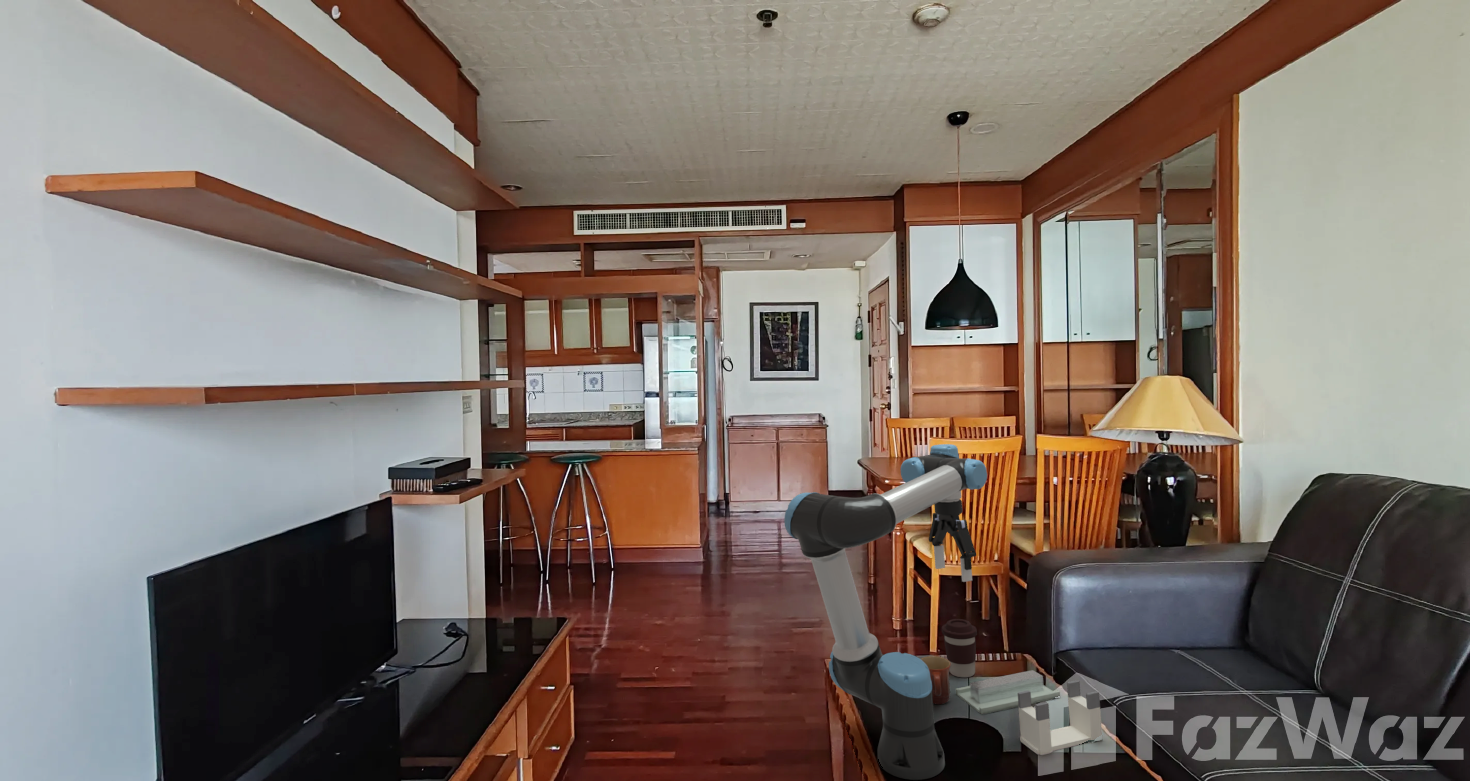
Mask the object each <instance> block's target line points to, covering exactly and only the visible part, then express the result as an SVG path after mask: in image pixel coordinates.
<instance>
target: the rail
mask: <svg viewBox="0 0 1470 781" xmlns="http://www.w3.org/2000/svg"><path fill="white" fill-rule="evenodd" d="M1043 677H1044V676H1043V675H1042V674H1040V673H1038V672H1036V671H1035V670H1027V671H1022V672H1017V673H1012V674H1008V675H1002V676H997V677H993V678H988V679H983V680H976V681H973V682H969V686H970V693H971V698H972V699H974V700H975V701H976V702H978V703H979V704H982V703H987V702H992V701H996V700H1001V699H1006V698H1010V697H1015V696H1018V692H1023V691H1030V692H1031V693H1034V692H1039V691H1043V690H1044V688H1043V685H1044V678H1043Z"/></svg>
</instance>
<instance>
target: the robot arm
mask: <svg viewBox="0 0 1470 781" xmlns="http://www.w3.org/2000/svg"><path fill="white" fill-rule="evenodd" d="M900 476H901V478H902V480H903V482H904V483H903V484H901V485H898V486H897V487H894V488H892V489H890V490H887V491H885V492H883V493H881V494H880V493H877V492H876V493H871V494H868V495H866V496H862V497H849V496H837V495H832V494H831V495H829V494H822V493H819V492H816V491H815V492H814V491H813V492H802V493H800V494H797V495H796V496H794V497H793V498H792V499H791V500H790V501H789V503H788V504H787V509H786V510H785V513H784V527H785V531H786V532H787V533H788V535H789V536H790V537H791V538H792V539H794V540H798V543H799V546H800V548H801V549H800V550H801V552H802V556H804V557H805V558H807V559H809V560H811V564H812V567H813V571H814V574H815V577H816V580H817V584H818V587H819V590H820V594H821V597H822V601H823V604H824V608H825V610H826V614H827V617H828V622H829V623H830V624H829V625H830V627H831V630H832V634H833V637H834V640H835V642H834V644H833V645H832V651H831V652H830V656H829V658H830V661H828V671H829V675H830V678H831V680H832V681H833V683H834V684H835V685H836V686H837V688H840V689H841V690H843V692H845V693H847V694H848V695H852V696H854V697H856V698H859V699H860V700H863V701H864V702H867V703H869V704H871V705H873V706H876V707H877V708H880V709H881V714H882V716H881V717H882V730H881V733H880V737H879V742H878V746H877V750H876V752H877V760H878V759H879V762H880V764H881V766H882V767H883V768H882V767H881V766H880V767H881V768H882V769H883V770H884V771H885V772H886V773H888V774H890V775H892V776H893V777H896V778H900V779H905V780H913V781H918V780H920V781H922V780H927V779H931V778H933V777H935V776H937V775H939V774H940V773H941V772H942V771H943V770H944V769H945V766H946V761H945V753H944V749H943V747H942V743H941V742H940V739H939V737H938V734H937V732H936V729H935V719H934V717H935V716H934V704H933V699H932V681H931V678H930V672H929V668H928V667H927V665H926V664H925V663H924V662H923V661H922V660H921V658H919V657H917V656H916V655H913V654H910V653H907V652H904V653H901V652H900V651H894V652H893V651H892V652H887V653H885V654H883V653H882V650H881V648H880V644H879V640H878V638H877V637H876V636H875V635H874V634H872V633H870V630H869V629H868V625H867V622H866V618H865V614H864V611H863V607H862V604H861V601H860V597H859V593H858V590H857V587H856V583H855V581H854V580H855V579H854V577H853V576H854V575H853V572H852V569H851V566H850V563H849V560H848V556H847V553H846V549H850V548H855V547H859V546H863V545H866V544H868V543H869V544H870V543H871V542H873V541H876V540H878V539H881V538H882V537H884V536H886V535H888V534H890V533H892V532H893V531H894V530H895V529H896V527H897V525H898V524H899V523H901V522H903V521H906V520H907V519H908V518H911V517H913V516H915V515H917V514H918V513H920V512H922V511H924V510H926V509H929V508H930V507H931V506H934V507H933V508H934V512H932V522H931V526H930V531H929V536H928V541H929V543H931V544H932V546H933V551H934V552H933V553H934V566H935V567H934V568H935V570H939V569H945V568H946V562H945V560H946V559H945V549H944V548H945V546H944V539H945V538H946V535H947V533H948V535H949V534H950V537H953V540H954V542H955V544H956V546H957V548H958V550H959V552H960V557H959V559H960V573H961V582H963V583H965V582H971V581H972V582H973V571H972V568H973V567H972V558H973V557H976V556H977V552H976V549H975V547H974V546H975V545H974V543H973V540H972V537H971V534H970V532H969V531H970V530H969V528H968V527H969V526H968V521H967V520H966V519H962V520H961V519H960V515H961V514H962V513H963V500H961V499H962V491H963V490H966V489H968V490H970V491H971V490H980V489H982V488H983V487H984V486H985V485H986V483H987V479H988V472H987V467H986V465H985V464H984V462H982V461H981V460H979V459H973V458H970V457H969V458H960V456H959V449H958V446H956V445H955V444H949V443H948V444H946V443H945V444H943V443H941V444H934V445H932V446H931V447H930V451H929V454H926V455H919V456H916V457H915V456H913V457H911V458H907V459H905V460H904V461H903V462H902V464H901V465H900ZM879 762H878V763H879ZM880 764H879V765H880Z"/></svg>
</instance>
